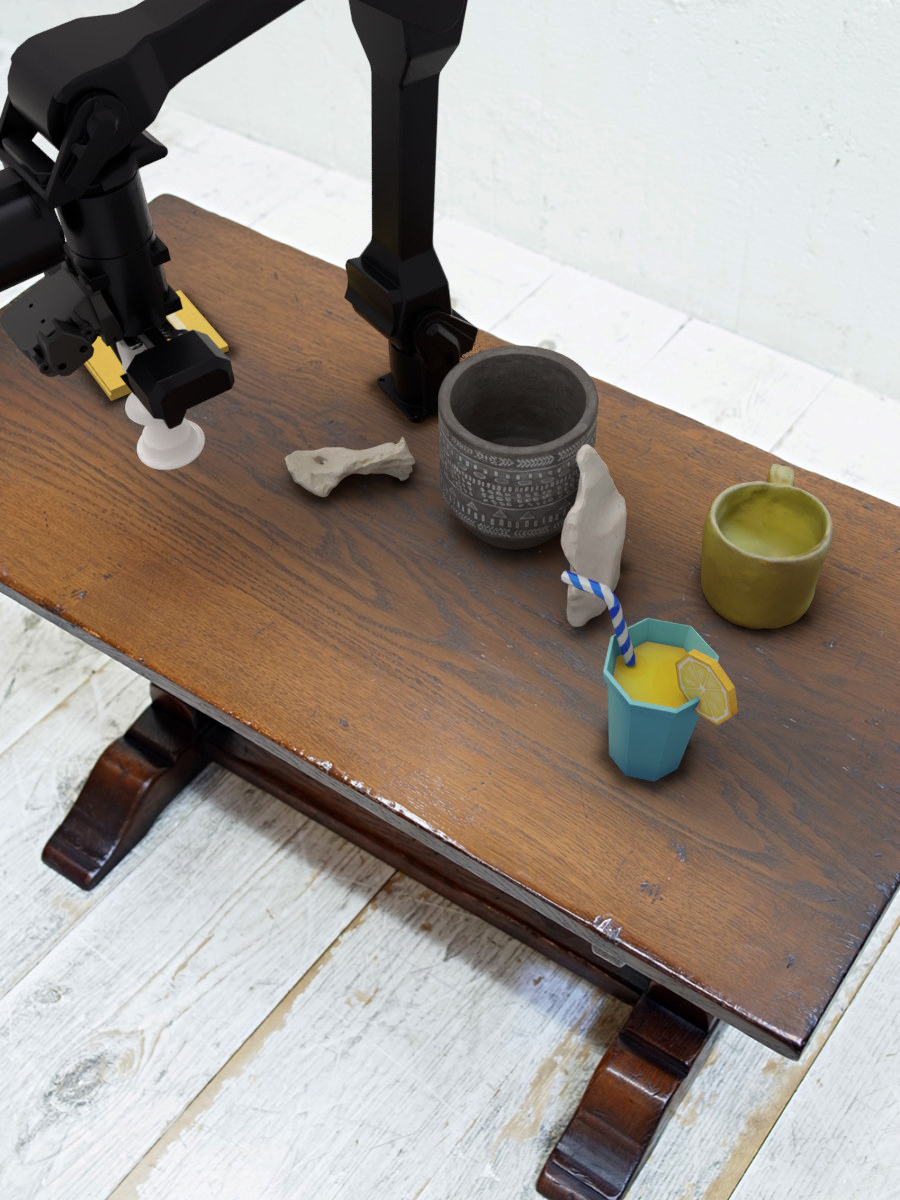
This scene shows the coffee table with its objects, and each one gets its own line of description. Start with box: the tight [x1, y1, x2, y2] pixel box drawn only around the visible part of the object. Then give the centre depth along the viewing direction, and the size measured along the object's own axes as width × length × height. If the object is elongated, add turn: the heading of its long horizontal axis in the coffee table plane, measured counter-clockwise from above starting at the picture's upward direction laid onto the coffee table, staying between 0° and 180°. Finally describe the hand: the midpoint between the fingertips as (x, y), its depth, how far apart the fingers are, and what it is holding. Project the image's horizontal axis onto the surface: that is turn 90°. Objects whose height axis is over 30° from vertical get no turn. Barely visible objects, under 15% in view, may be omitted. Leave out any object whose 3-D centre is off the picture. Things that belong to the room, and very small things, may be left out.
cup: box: [560, 570, 739, 782], centre depth 87 cm, size 14×8×15 cm, turn 53°
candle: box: [116, 341, 206, 471], centre depth 96 cm, size 5×5×12 cm
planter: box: [437, 344, 599, 550], centre depth 102 cm, size 12×12×13 cm
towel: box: [83, 289, 230, 402], centre depth 120 cm, size 10×12×1 cm
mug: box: [700, 463, 834, 630], centre depth 99 cm, size 12×10×10 cm
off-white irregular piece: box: [284, 436, 416, 498], centre depth 108 cm, size 6×10×4 cm, turn 104°
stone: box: [560, 444, 628, 628], centre depth 96 cm, size 11×4×15 cm, turn 167°
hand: (159, 406), depth 97 cm, fingers closed on candle, 5 cm apart
